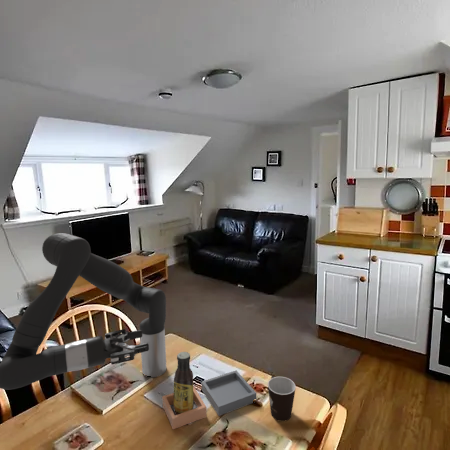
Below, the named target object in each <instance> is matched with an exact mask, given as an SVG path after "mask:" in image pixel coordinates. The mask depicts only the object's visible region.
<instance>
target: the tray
mask: <svg viewBox="0 0 450 450" xmlns="http://www.w3.org/2000/svg"><path fill="white" fill-rule="evenodd" d="M201 391H202V392H203V394H204V395H205V397H206V399H207V401H208V402H209V403H210V405H211V406H212V408H213V410H214V411H215V413H216V414H217V416H218V417H220V416H223V415H226V414H229V413H230V412H234V411H235V410H236V411H237V410H238V409H241V408H244V407H246V406H249V405H251V404H254V403H253V400H254V399H256V400H257V392H256V391H255V389H253V387H252V386H251V385H250V384H249V383H248V381H246V380H245V379H244V377H243V376H242V375H241V374H240V373H239V372H238V371H237V370H233V371H230V372H227V373H223V374H222V375H221V374H220V375H218V376H213V377H211V378H208V379H206V380H202V381H201Z"/></svg>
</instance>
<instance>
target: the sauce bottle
mask: <svg viewBox="0 0 450 450" xmlns="http://www.w3.org/2000/svg"><path fill="white" fill-rule="evenodd" d="M190 359H191V354H190V352H187V351H181V352H179V353H177V355H176V360H177V368H176V370H175V372H174V376H173V393H174V405H173V410H174V411H173V413H174V415H178V414H181V413H184V412H186V411H189V410H192V409H194V400H193V386H194V373H193V371H192V369H191V365H190V364H191V362H190Z"/></svg>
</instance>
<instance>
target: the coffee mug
mask: <svg viewBox="0 0 450 450" xmlns="http://www.w3.org/2000/svg"><path fill="white" fill-rule="evenodd" d="M296 387H297V386H296V384H295V382H294V381H293V380H292V379H290V378H289V377H286V376H275V375H271V377H270V379H269V380H268V381H267V392H268V400H269V408H270V415H271V416H272V418H273V419H274V420H276V421H279V422H287V421H289V420H290V419H291V417H292V413H293V407H294V401H295V394H296Z"/></svg>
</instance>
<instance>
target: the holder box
mask: <svg viewBox="0 0 450 450" xmlns="http://www.w3.org/2000/svg"><path fill="white" fill-rule="evenodd" d="M161 398H162V407H163V409H164V411H165V414H166V416H167V419H168V421H169V424H170V426H171V428H172V430H175V429H177V428H181V427H183V426H185V425H188V424H190V423H194V422H197V421H199V420H202V419H204V418H207V416H208V414H207V406H206V403H204V400H203V399H202V397H201V396H200V394H199V393H198V391H197V389H196V387H195V386H194V385H193V403H194V404H195V405H196V407H195V408H193V409H192V410H189V411H186V412H184V413H181V414H178V415H176V414H175V412H174V411H173V409H172V407H171V406H174V392H172V393H168V394H165V395H162V397H161Z"/></svg>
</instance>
